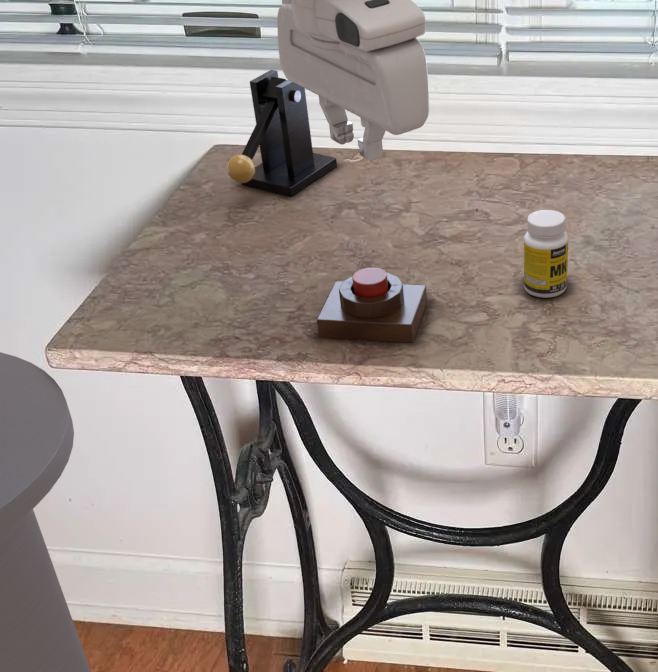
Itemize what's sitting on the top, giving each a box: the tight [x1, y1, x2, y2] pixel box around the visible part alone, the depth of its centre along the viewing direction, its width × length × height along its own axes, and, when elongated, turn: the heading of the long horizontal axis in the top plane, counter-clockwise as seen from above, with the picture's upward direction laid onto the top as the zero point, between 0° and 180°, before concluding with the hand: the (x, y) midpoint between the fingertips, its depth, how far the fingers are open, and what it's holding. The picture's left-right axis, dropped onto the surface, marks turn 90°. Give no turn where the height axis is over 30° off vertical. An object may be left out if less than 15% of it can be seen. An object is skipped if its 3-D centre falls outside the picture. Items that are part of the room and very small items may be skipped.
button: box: [351, 267, 388, 298], centre depth 123 cm, size 4×4×2 cm
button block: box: [316, 272, 428, 343], centre depth 125 cm, size 10×8×4 cm
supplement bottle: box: [523, 209, 569, 299], centre depth 127 cm, size 5×5×8 cm
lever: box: [226, 76, 287, 184], centre depth 147 cm, size 14×3×3 cm
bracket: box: [241, 69, 338, 198], centre depth 150 cm, size 10×8×13 cm
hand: (356, 149), depth 114 cm, fingers open, 4 cm apart
